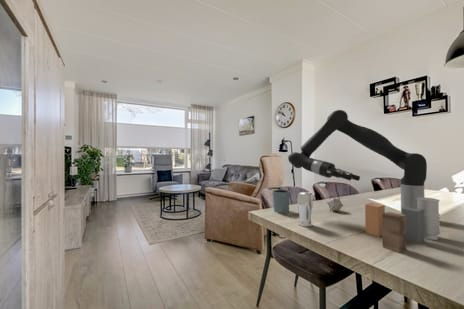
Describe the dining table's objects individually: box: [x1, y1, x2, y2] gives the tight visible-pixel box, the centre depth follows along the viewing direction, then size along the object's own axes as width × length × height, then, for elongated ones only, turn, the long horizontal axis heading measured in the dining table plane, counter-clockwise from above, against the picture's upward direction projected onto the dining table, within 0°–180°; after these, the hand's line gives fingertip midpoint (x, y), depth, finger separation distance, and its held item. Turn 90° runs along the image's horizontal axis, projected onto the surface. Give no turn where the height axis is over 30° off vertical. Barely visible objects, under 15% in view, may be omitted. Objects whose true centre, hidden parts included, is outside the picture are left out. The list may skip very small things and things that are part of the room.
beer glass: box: [296, 191, 314, 228], centre depth 100 cm, size 7×7×15 cm
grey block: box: [402, 207, 425, 245], centre depth 81 cm, size 5×5×12 cm
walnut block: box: [381, 211, 407, 254], centre depth 74 cm, size 5×5×12 cm
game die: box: [326, 196, 344, 213], centre depth 123 cm, size 9×8×10 cm
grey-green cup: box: [272, 189, 291, 214], centre depth 124 cm, size 10×10×12 cm
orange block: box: [364, 202, 386, 238], centre depth 88 cm, size 5×5×12 cm
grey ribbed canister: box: [416, 197, 441, 241], centre depth 84 cm, size 7×7×15 cm
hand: (355, 178), depth 96 cm, fingers open, 8 cm apart
